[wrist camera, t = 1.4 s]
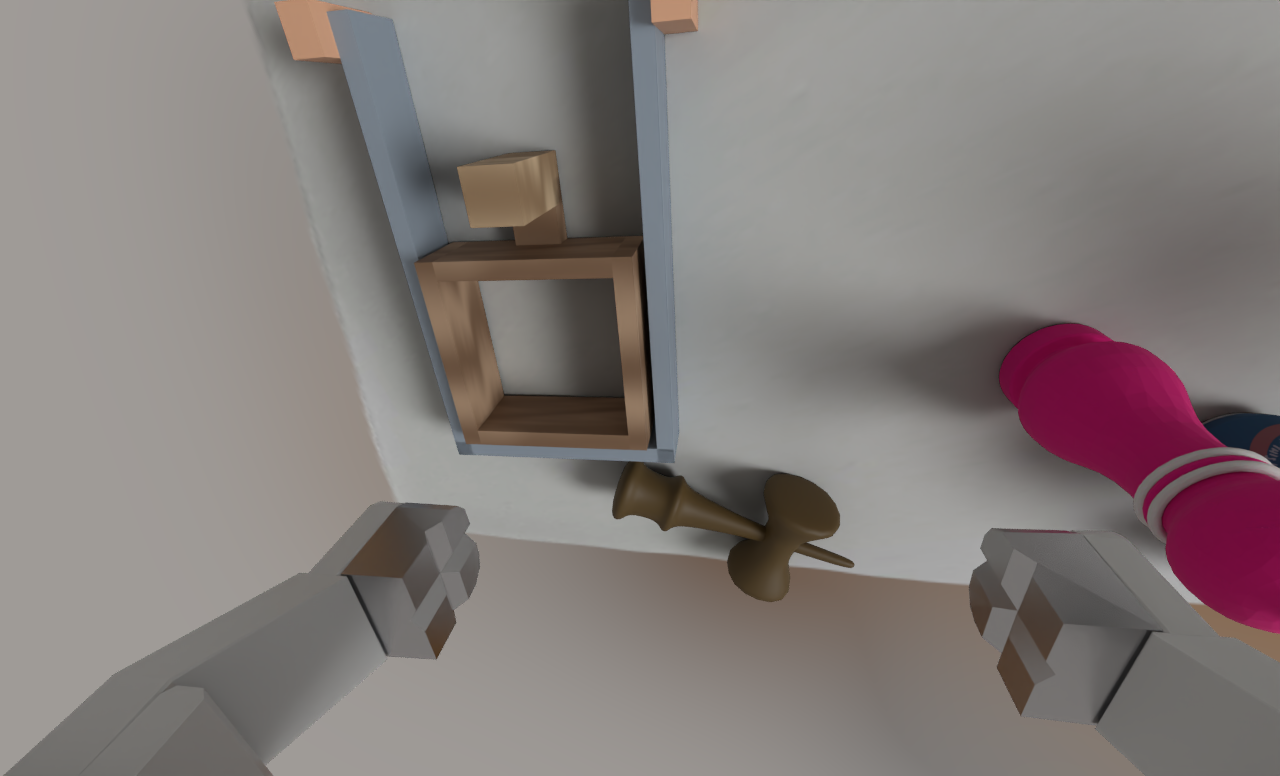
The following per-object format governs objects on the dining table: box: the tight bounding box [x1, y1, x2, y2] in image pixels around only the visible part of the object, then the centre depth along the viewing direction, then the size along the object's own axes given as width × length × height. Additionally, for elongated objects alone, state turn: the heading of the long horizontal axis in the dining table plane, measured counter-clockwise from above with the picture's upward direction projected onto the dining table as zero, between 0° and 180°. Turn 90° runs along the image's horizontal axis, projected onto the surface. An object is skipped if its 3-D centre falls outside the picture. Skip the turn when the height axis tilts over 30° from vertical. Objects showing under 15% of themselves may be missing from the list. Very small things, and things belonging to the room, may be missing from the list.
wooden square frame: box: [414, 150, 655, 451], centre depth 33 cm, size 19×13×7 cm
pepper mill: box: [999, 324, 1280, 633], centre depth 25 cm, size 7×7×20 cm
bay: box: [274, 0, 698, 463], centre depth 32 cm, size 28×20×5 cm
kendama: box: [612, 461, 854, 602], centre depth 41 cm, size 6×10×20 cm
